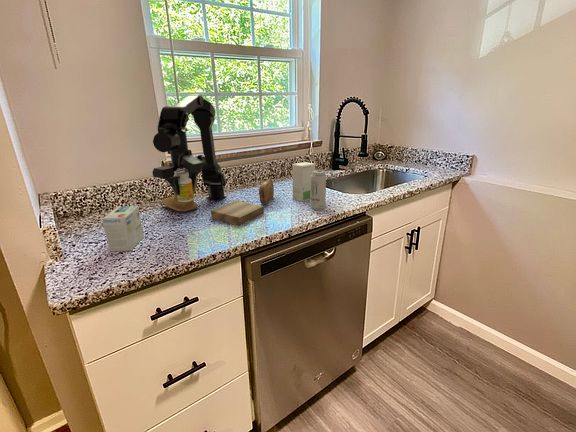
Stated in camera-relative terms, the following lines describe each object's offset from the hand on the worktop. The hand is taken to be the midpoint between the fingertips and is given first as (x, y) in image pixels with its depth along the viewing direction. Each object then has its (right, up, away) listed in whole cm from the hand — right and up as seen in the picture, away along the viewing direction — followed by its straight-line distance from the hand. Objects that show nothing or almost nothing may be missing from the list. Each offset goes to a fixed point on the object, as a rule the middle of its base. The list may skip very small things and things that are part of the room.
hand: (185, 192), depth 107 cm
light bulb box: (-14, -17, -10) cm, 24 cm away
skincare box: (+42, -1, +30) cm, 52 cm away
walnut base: (+17, -8, +11) cm, 21 cm away
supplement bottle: (0, -3, +1) cm, 3 cm away
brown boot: (-8, -5, +21) cm, 23 cm away
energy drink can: (+47, -5, +18) cm, 51 cm away
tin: (+26, -2, +27) cm, 38 cm away
